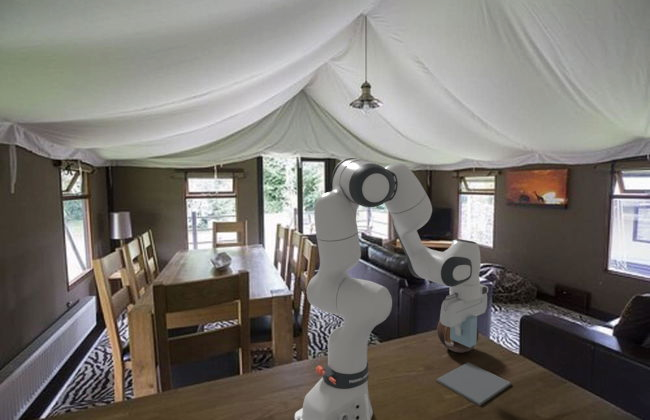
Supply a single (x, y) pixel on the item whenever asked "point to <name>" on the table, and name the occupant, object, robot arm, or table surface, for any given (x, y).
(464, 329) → the block
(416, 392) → the table surface
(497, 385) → the mat
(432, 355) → the table surface
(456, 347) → the wooden sphere
